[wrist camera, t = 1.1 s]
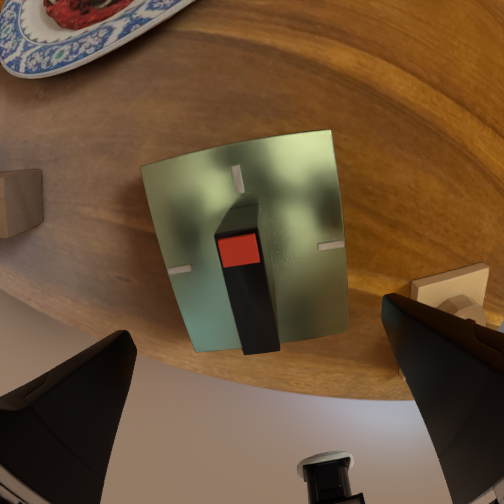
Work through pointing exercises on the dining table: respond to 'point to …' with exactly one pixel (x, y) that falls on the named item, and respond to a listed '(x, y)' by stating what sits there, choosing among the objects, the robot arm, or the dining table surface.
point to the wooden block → (20, 201)
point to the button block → (454, 293)
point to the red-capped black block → (248, 279)
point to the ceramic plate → (72, 31)
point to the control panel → (275, 228)
